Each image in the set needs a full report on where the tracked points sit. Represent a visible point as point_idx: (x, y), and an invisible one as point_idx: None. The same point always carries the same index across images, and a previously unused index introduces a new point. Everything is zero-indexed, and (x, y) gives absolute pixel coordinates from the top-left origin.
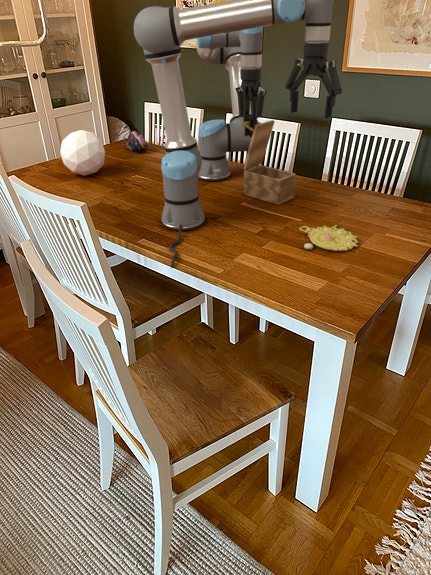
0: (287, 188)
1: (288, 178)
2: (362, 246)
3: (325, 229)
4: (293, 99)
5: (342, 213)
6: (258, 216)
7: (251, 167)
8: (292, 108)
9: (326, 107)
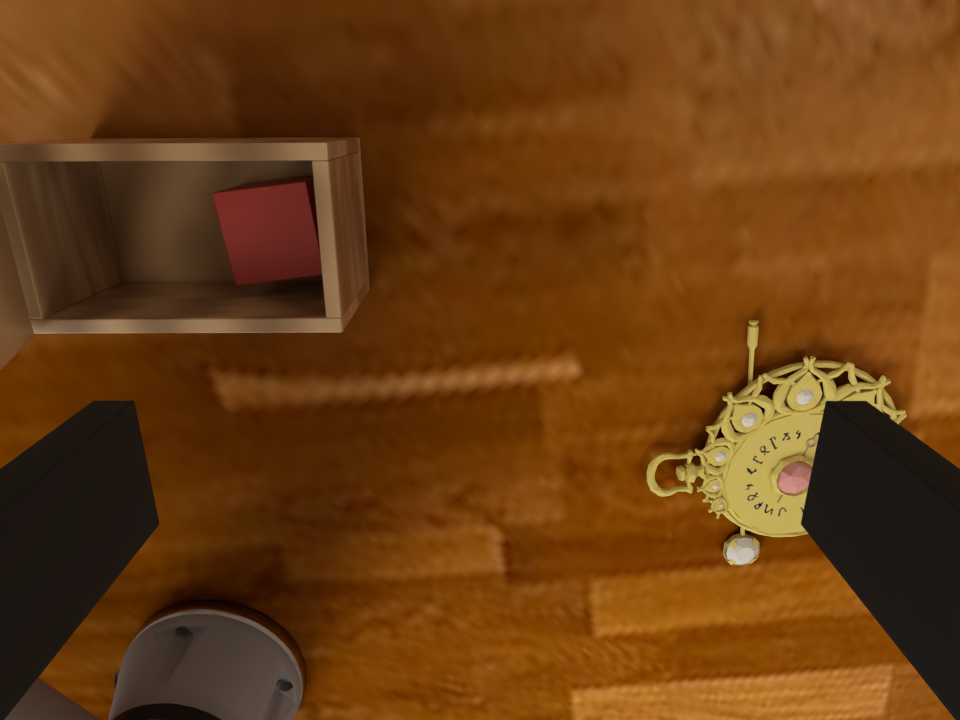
0: (350, 225)
1: (336, 231)
2: (919, 409)
3: (747, 424)
4: (16, 698)
5: (703, 151)
6: (396, 453)
7: (17, 271)
8: (119, 571)
9: (917, 649)
